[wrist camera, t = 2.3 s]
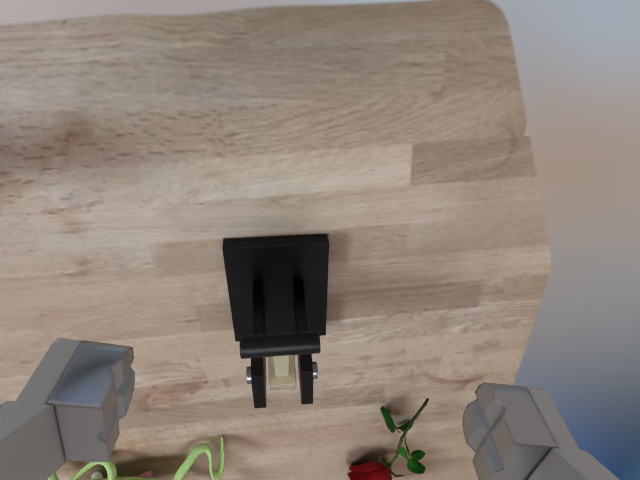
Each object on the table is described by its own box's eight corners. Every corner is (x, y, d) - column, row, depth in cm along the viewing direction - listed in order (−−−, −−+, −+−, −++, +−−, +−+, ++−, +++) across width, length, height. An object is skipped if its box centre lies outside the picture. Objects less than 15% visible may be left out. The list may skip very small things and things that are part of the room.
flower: (419, 455, 49) (362, 543, 68) (476, 415, 54) (407, 508, 73) (368, 388, 54) (328, 487, 74) (424, 357, 59) (373, 458, 78)
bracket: (223, 238, 43) (211, 342, 33) (327, 233, 44) (347, 333, 34) (236, 331, 51) (229, 438, 41) (324, 325, 52) (339, 428, 42)
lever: (239, 325, 28) (239, 364, 27) (318, 320, 29) (321, 358, 28) (253, 363, 40) (254, 391, 39) (309, 359, 41) (311, 387, 40)
